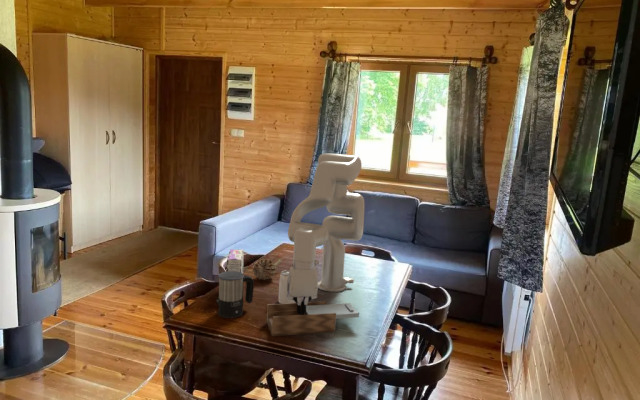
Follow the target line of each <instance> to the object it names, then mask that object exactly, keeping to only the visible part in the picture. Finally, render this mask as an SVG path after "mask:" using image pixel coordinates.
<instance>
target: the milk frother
mask: <svg viewBox="0 0 640 400" xmlns="http://www.w3.org/2000/svg"><path fill="white" fill-rule="evenodd" d="M218 282H219V283H218V297H217V298H216V304H217V305H218V311H217V315H218V316H219V317H222V318H227V319H235V318H238V317H241V316H242V315H243V314H244V310H243V308H244V283H245V282H246V285H245V302H246V303H248V304H252V302H253V299H254V298H253V297H254V288H255V287H254V286H255V282H254V279H253V278H252V277H251V276H249V275H246V274H244V272H243V273H241V272H237V271H227V270H226V271H223V272H220V273H219V274H218Z"/></svg>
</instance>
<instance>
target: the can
mask: <svg viewBox="0 0 640 400" xmlns="http://www.w3.org/2000/svg"><path fill="white" fill-rule="evenodd" d="M289 271H290V270H283V271H281V272H280V274H279V281H278V282H279V283H278V304H284V303H296V302H295V301H294V300H289V299H287V294H288V292H287V283H288V276H289Z"/></svg>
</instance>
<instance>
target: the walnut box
mask: <svg viewBox="0 0 640 400" xmlns="http://www.w3.org/2000/svg"><path fill="white" fill-rule="evenodd" d="M325 304H328V301H327V300H325V301H309V302H308V304H307V305H306V306H308V305H325ZM266 305H267V306H266V325H267V328H268V329H269V332H270V334H271V336H272V337H280V336H281V337H283V336H297V335H298V336H299V335H309V334H325V333H335V332H336V320H337V319H336V313H325V314H308V315H305V313H304V315H299V314H298V313H297V303H296V302H294V303H284V304H280V303H272V304H266Z"/></svg>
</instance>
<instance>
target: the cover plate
mask: <svg viewBox="0 0 640 400" xmlns="http://www.w3.org/2000/svg"><path fill="white" fill-rule="evenodd" d="M325 313H336V320H337V319H350V318H351V319H352V318H359V312H358V311H357V309H355V307H354V306H353V305H352V304H351V303H350V302H346V303H330V304H328V303H327V304H325V305H308V306H306V313H305V315H308V314H325Z"/></svg>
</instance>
